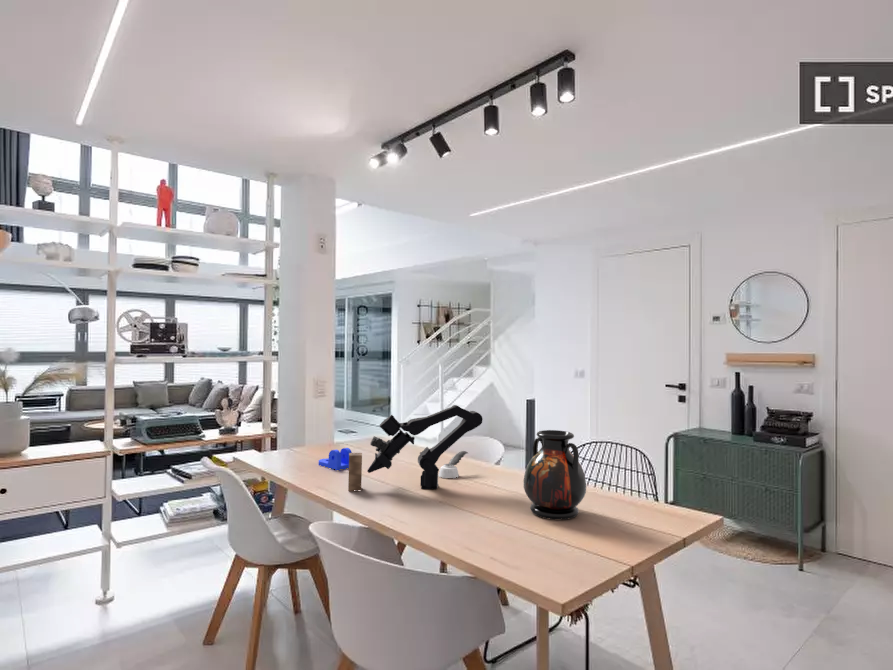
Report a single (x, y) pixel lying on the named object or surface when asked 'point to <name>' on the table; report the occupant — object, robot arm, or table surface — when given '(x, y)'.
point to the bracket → (337, 459)
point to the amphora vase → (554, 476)
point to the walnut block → (355, 471)
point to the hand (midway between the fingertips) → (368, 472)
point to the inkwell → (451, 466)
